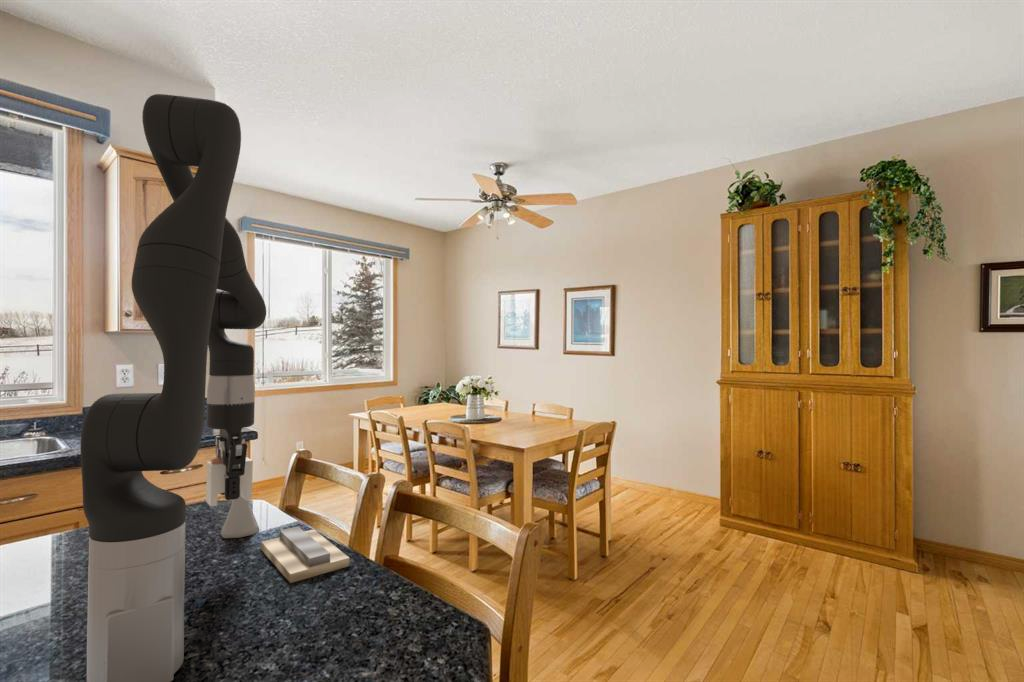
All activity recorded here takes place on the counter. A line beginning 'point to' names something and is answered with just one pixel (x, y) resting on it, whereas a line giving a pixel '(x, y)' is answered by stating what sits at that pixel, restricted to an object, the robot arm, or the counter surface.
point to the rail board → (296, 564)
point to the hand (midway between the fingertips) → (229, 495)
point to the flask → (239, 520)
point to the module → (218, 480)
